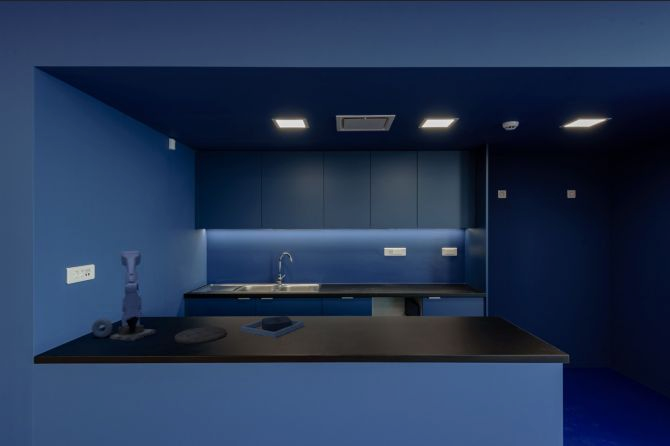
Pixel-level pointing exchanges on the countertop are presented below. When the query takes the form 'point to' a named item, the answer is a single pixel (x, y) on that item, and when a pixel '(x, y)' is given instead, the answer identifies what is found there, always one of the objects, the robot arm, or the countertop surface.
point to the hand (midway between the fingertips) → (132, 331)
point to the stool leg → (126, 330)
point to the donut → (97, 330)
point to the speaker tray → (250, 329)
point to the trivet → (200, 335)
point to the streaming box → (276, 323)
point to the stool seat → (132, 335)
